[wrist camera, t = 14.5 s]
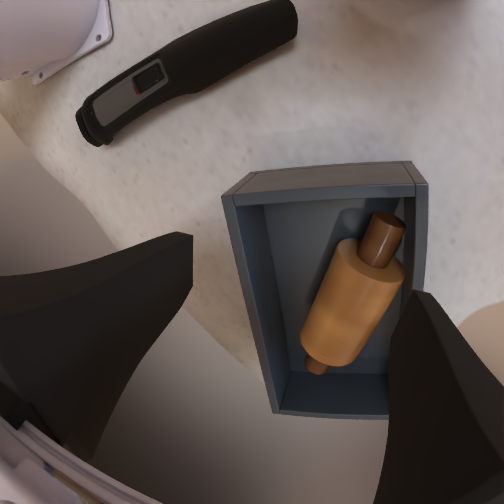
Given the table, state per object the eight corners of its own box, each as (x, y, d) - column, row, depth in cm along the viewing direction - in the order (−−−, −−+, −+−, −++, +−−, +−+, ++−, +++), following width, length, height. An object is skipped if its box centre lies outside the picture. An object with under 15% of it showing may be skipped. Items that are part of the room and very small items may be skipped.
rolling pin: (283, 341, 22) (294, 389, 19) (342, 193, 16) (373, 233, 13) (334, 343, 23) (349, 387, 19) (402, 207, 17) (439, 246, 13)
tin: (286, 370, 25) (272, 413, 22) (249, 171, 18) (220, 195, 15) (398, 373, 22) (398, 419, 18) (411, 160, 15) (428, 183, 12)
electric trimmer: (317, 50, 14) (310, 41, 12) (106, 148, 21) (75, 159, 18) (290, -7, 13) (278, -25, 10) (89, 104, 19) (57, 110, 17)
